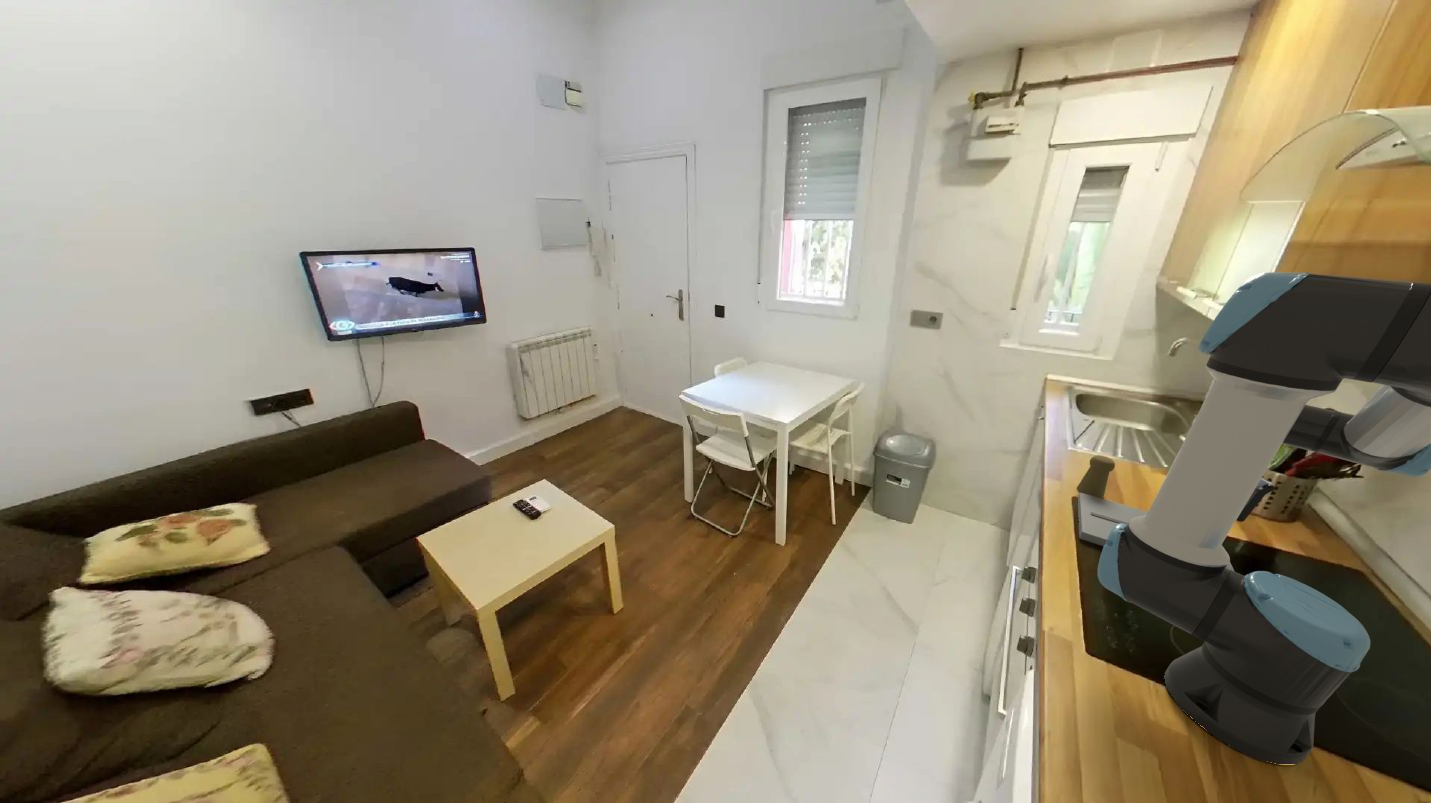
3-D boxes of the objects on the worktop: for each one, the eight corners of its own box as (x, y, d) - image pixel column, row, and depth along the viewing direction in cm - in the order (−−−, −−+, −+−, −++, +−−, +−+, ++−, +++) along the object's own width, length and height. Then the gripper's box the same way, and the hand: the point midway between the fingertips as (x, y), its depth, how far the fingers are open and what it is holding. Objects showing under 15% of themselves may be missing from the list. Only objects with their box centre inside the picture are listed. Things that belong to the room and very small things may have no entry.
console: (1235, 589, 92) (1240, 581, 91) (1079, 538, 106) (1082, 530, 105) (1211, 537, 107) (1215, 529, 106) (1077, 498, 121) (1080, 491, 120)
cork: (1108, 499, 120) (1124, 465, 116) (1083, 496, 121) (1098, 462, 117) (1096, 487, 126) (1110, 453, 121) (1072, 484, 127) (1085, 451, 122)
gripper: (1295, 451, 90) (1239, 542, 99) (1186, 429, 99) (1144, 514, 108) (1310, 467, 84) (1249, 561, 94) (1194, 442, 93) (1148, 531, 102)
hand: (1193, 536), depth 101 cm, fingers closed on fader tab, 3 cm apart
